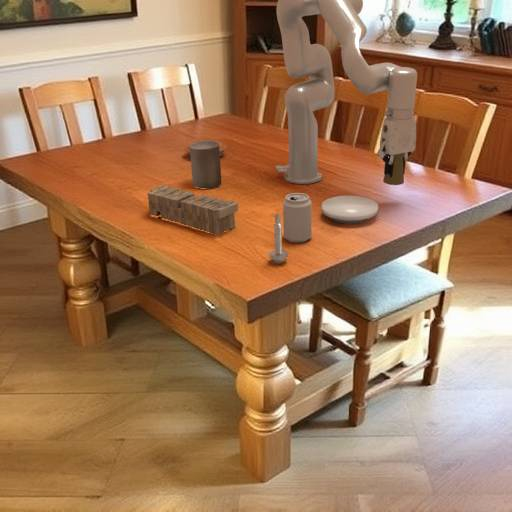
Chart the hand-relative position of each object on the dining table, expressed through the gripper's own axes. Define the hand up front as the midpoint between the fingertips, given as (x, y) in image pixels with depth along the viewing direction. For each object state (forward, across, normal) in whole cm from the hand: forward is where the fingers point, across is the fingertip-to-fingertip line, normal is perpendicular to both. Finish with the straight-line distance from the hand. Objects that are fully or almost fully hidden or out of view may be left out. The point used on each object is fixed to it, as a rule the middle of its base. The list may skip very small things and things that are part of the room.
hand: (394, 174), depth 199 cm
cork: (+3, 0, 0) cm, 3 cm away
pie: (+13, -24, +78) cm, 82 cm away
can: (+10, -38, -6) cm, 39 cm away
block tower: (+11, -56, +21) cm, 61 cm away
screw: (+9, -50, -16) cm, 53 cm away
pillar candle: (+12, -38, +48) cm, 62 cm away
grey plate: (+9, -17, -1) cm, 19 cm away
